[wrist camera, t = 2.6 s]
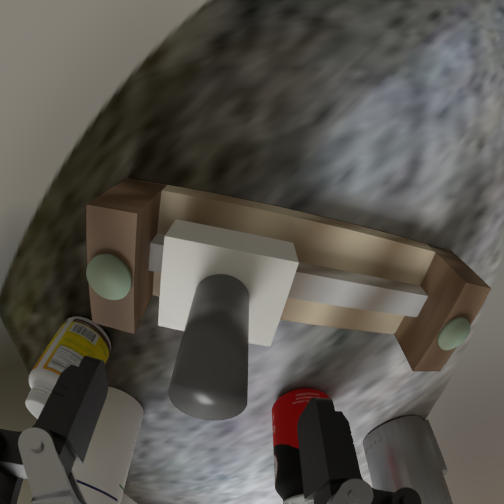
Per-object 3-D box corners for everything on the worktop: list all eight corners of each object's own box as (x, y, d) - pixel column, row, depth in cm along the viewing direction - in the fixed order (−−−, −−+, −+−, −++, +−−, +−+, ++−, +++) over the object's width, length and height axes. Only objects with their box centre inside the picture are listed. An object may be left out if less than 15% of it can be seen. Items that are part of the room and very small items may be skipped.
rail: (451, 251, 22) (494, 291, 16) (413, 326, 25) (441, 374, 20) (127, 178, 20) (83, 206, 14) (122, 276, 23) (90, 326, 17)
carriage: (293, 242, 18) (324, 360, 10) (268, 321, 21) (275, 444, 12) (175, 219, 18) (112, 321, 9) (167, 302, 20) (124, 418, 12)
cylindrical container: (123, 383, 29) (62, 591, 7) (154, 420, 32) (118, 602, 10) (78, 386, 30) (13, 561, 8) (110, 420, 33) (65, 580, 11)
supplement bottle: (78, 355, 28) (40, 429, 18) (56, 313, 25) (4, 387, 16) (122, 357, 27) (88, 441, 18) (100, 312, 25) (51, 398, 16)
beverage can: (294, 375, 28) (306, 488, 17) (342, 391, 29) (365, 490, 18) (260, 408, 30) (261, 508, 19) (306, 421, 32) (317, 511, 21)
